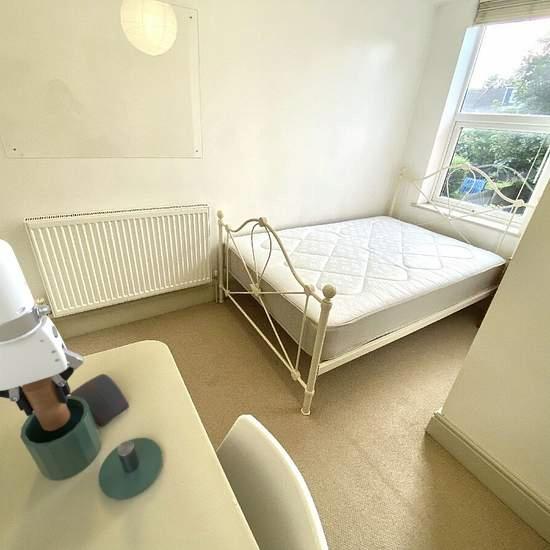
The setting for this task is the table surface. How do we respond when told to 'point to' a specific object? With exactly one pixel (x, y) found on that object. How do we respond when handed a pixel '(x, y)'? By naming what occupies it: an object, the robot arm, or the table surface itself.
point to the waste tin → (63, 442)
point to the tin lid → (130, 468)
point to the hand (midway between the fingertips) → (48, 402)
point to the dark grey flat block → (102, 398)
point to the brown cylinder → (46, 403)
